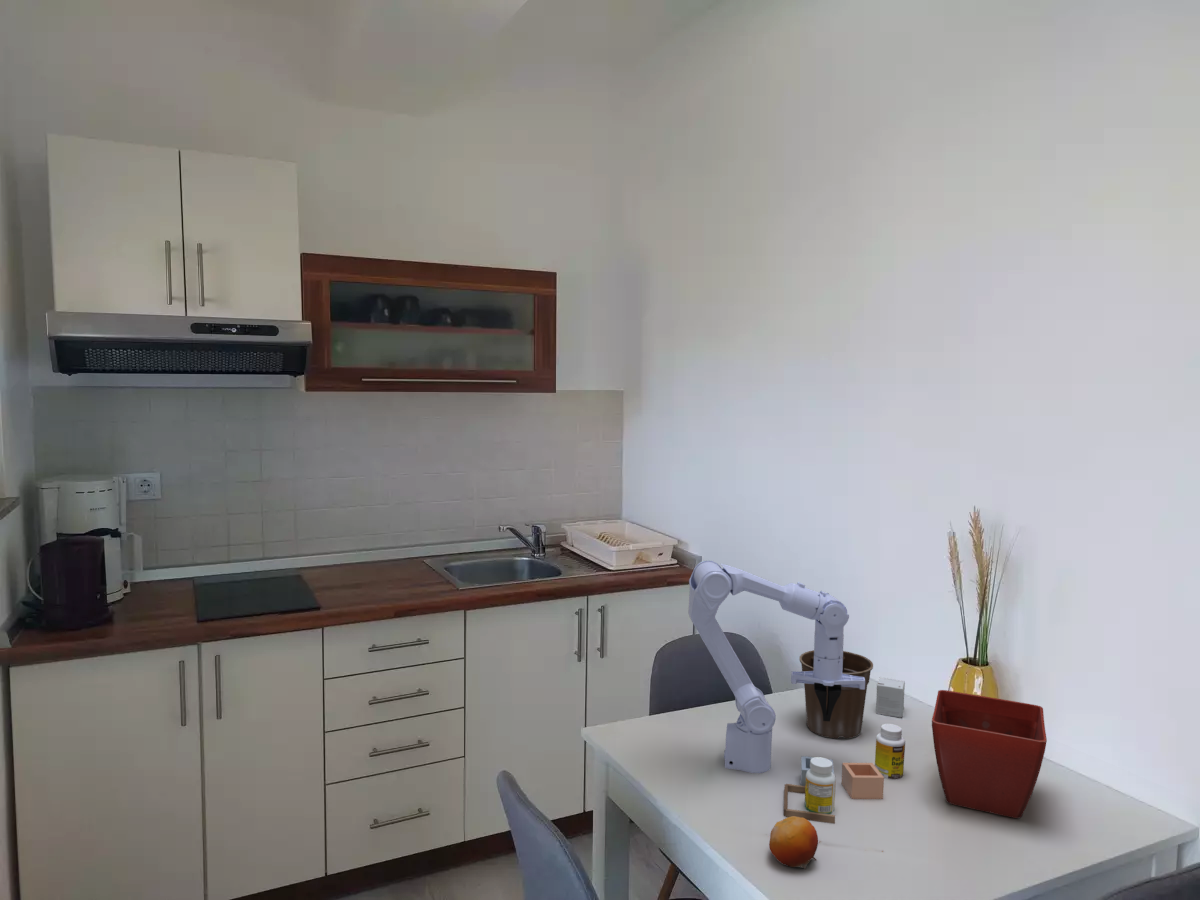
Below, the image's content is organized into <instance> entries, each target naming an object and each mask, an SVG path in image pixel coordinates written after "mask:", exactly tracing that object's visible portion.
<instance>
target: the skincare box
mask: <svg viewBox="0 0 1200 900" xmlns="http://www.w3.org/2000/svg"><path fill="white" fill-rule="evenodd" d="M905 684H906V682H905V680H900V679H895V678H894V679H893V678H889V677H887V678H886V677H882V676H880V677H879V678H878V681H877V683H876V699H875V701H876V706H875V714H877V715H881V714H882V715H883V716H888V717H894V718H900V717H901V718H902V717H903V714H904V707H905V687H906V686H905ZM901 718H900V719H901Z"/></svg>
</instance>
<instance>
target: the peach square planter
mask: <svg viewBox="0 0 1200 900" xmlns="http://www.w3.org/2000/svg"><path fill="white" fill-rule="evenodd" d="M841 765H842V766H841V767H842V768H841V782H840V783H841V785H842V787H843V788H844V790H845V791H846V793H847V794H848V796H849V797H850V799H851V800H883V799H884V785H885V778H884V777H883V776H882V774H881V773H880V772H879V770H878V769H877V768H876V767H875V763H874V762H842V764H841Z"/></svg>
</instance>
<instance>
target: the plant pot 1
mask: <svg viewBox="0 0 1200 900" xmlns="http://www.w3.org/2000/svg"><path fill="white" fill-rule="evenodd" d="M798 660H799V662H800V664H801V671H813V670H814V649H813V650H809V651H808V650H807V651H804V652H803V653H801V654H800V655H799V659H798ZM873 669H874V663H873V661H872V660H871V659H870V658H868V657H865V656H863V655H861V654H858V653H855V652H850V651H846V650H843V670H842V673H843V674H848V675H853V676H858V677H864V678H865V690H863V689H859V688H853V687H842V686H841V695H840V697H839V698H838V700H837V702H836V704H835V706H834V708H833V711H832V714H831V719H830V721H823V714H822V709H821V706H820V703H819V700H818V698H817V695H816V693H815V690H814V684H806V683H803V685H804V700H805V701H804V702H805V718H806V726H807V727H808V729H809V730H810V732H812V733H814V734H815V735H818V736H821V737H824V738H829V739H837V740H838V738H844V739H853V738H856V737H857V736H859V735H861V733H862V729H863V723H864V722H863V720H864V715H865V714H864V712H865V704H866V697H867V689H868V685H869V684H870V677H871V671H872V670H873ZM826 687H827V701H826V711H827V702H828V686H826Z"/></svg>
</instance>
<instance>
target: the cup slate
mask: <svg viewBox="0 0 1200 900" xmlns="http://www.w3.org/2000/svg"><path fill="white" fill-rule="evenodd" d="M812 758H814V756H813V757H812V756H807V755H806V756H804V755H801V757H800V759H801V760H800V785H801V786H805V783H806V773H807V771H808V770H809V769H811V768H810V760H811V759H812ZM827 759H828V760H830V761H831V762H832V764H833V765H834V761H833V759H830V758H827ZM832 773H833V774H834V775H835V771H834V767H833V770H832Z"/></svg>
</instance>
